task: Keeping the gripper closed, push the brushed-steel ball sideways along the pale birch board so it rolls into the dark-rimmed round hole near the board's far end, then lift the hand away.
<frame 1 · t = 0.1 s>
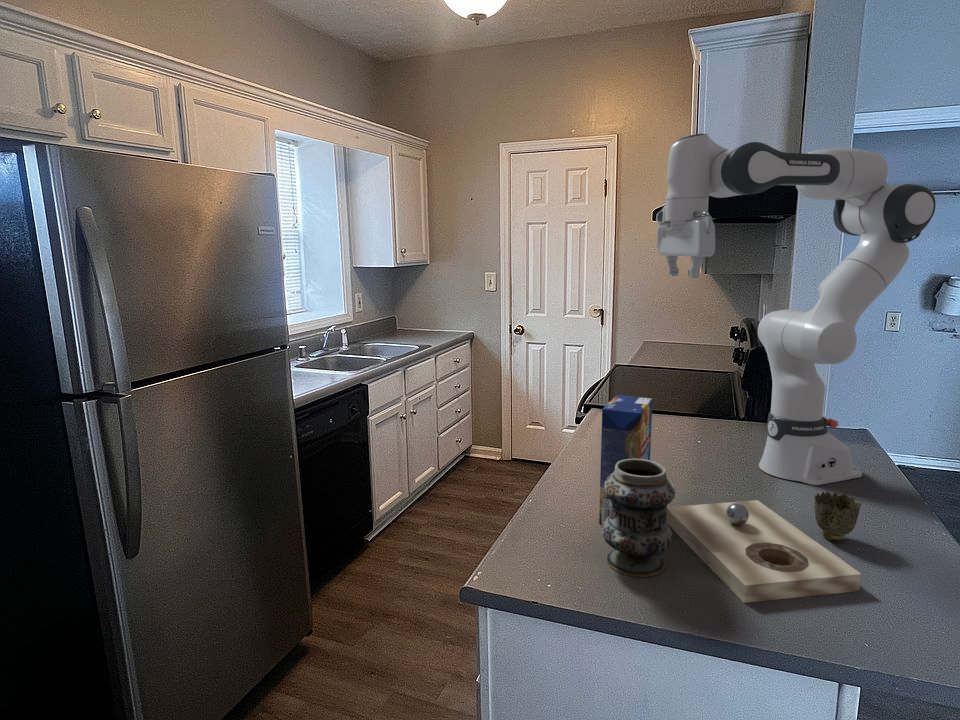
hand: (682, 277, 130), 48 cm above the counter, tool pointing down, fingers open, 8 cm apart
cup: (832, 539, 111), on the counter
steel ball: (737, 514, 110), point 5 cm above the counter, touching hole board
apothecary jar: (635, 563, 104), on the counter
hole board: (750, 551, 107), on the counter
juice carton: (624, 515, 122), on the counter
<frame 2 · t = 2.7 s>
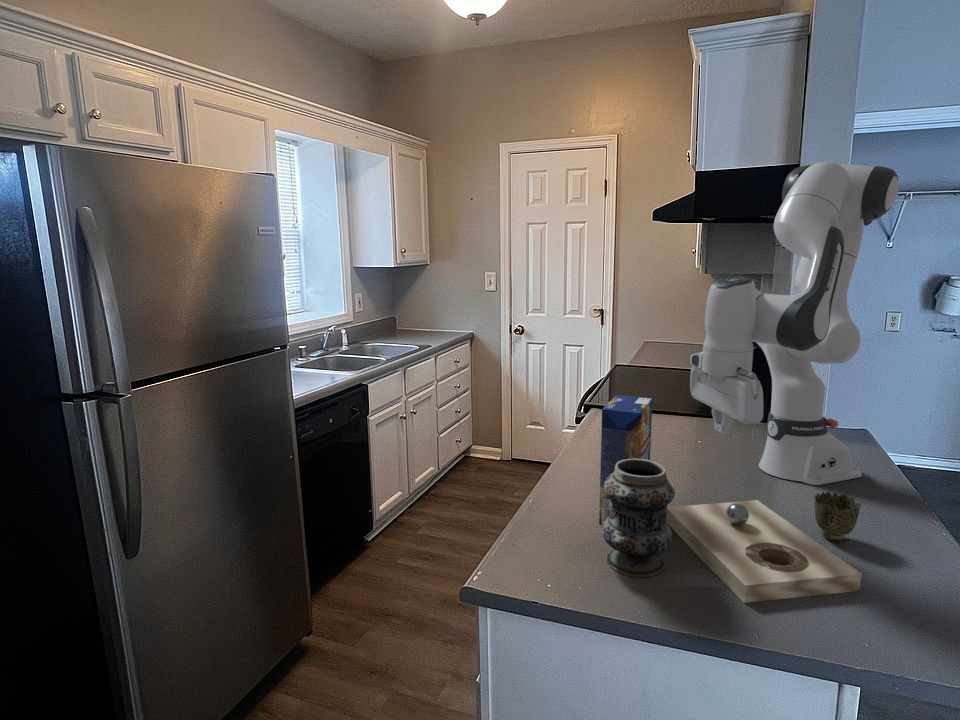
hand: (722, 432, 115), 19 cm above the counter, tool pointing down, fingers closed
nothing on the counter moved.
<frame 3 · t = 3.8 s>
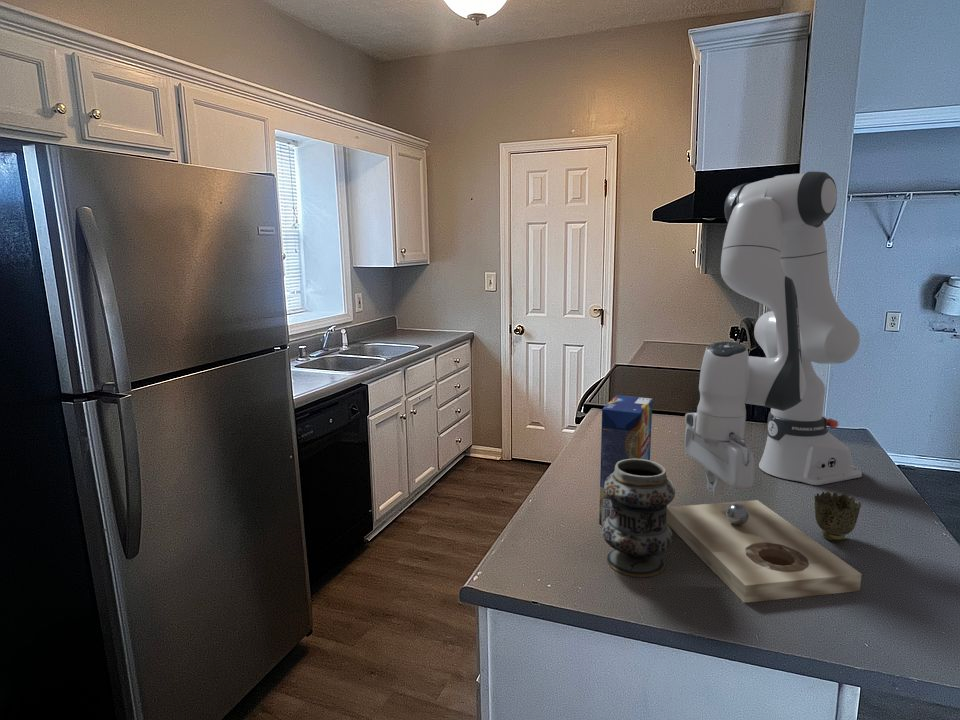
hand: (714, 492, 117), 6 cm above the counter, tool pointing down, fingers closed
nothing on the counter moved.
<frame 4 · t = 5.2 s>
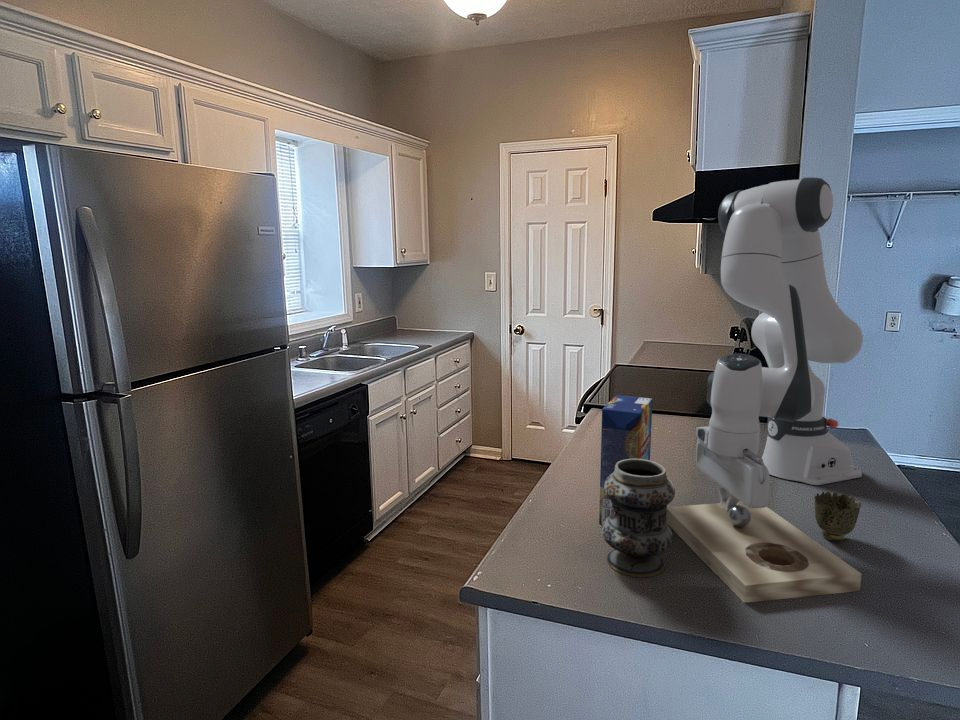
hand: (728, 509, 113), 5 cm above the counter, tool pointing down, fingers closed
steel ball: (739, 515, 110), point 5 cm above the counter, tilted 21°, touching gripper, hole board
everything else where it was.
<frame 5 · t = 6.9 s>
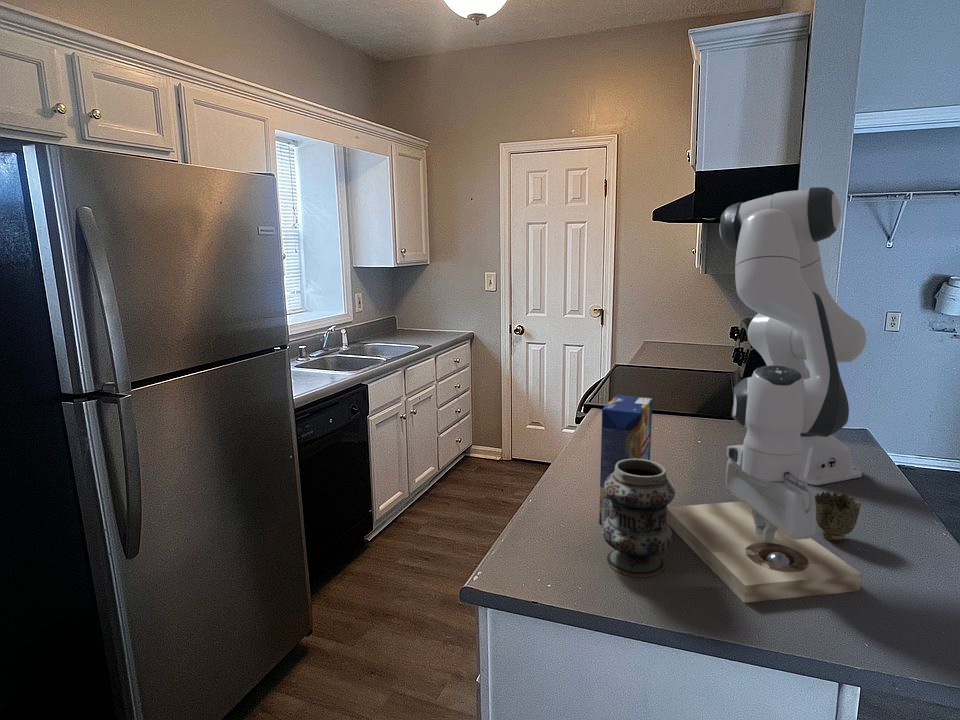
hand: (764, 537, 102), 5 cm above the counter, tool pointing down, fingers closed
steel ball: (777, 564, 99), point 2 cm above the counter, tilted 48°
everything else where it was.
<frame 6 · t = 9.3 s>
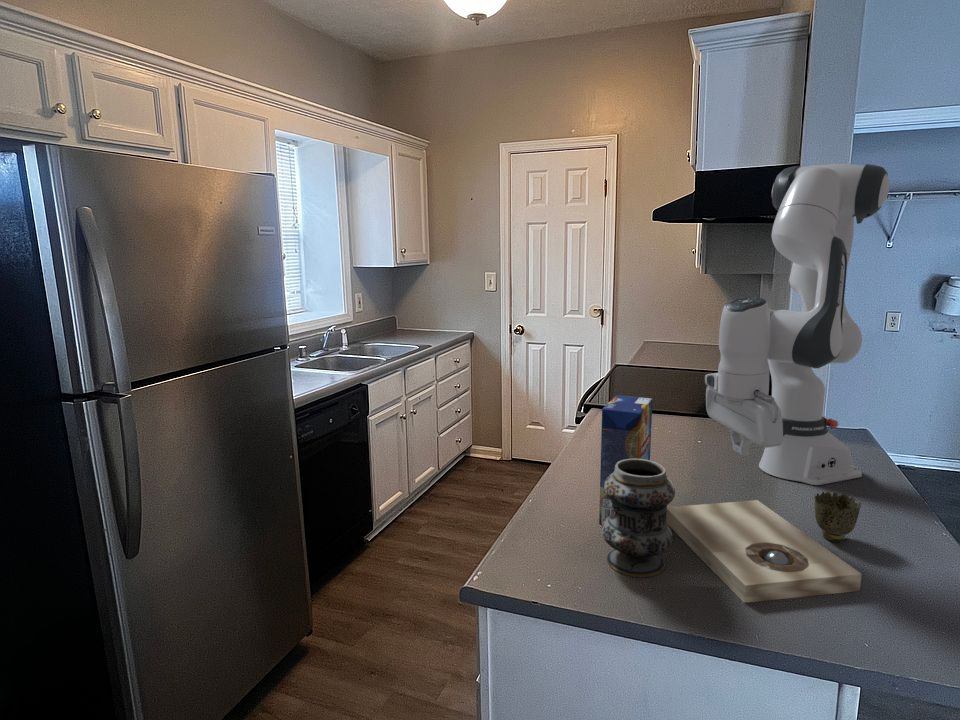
hand: (740, 453, 114), 15 cm above the counter, tool pointing down, fingers closed
steel ball: (776, 563, 99), point 2 cm above the counter, tilted 38°
everything else where it was.
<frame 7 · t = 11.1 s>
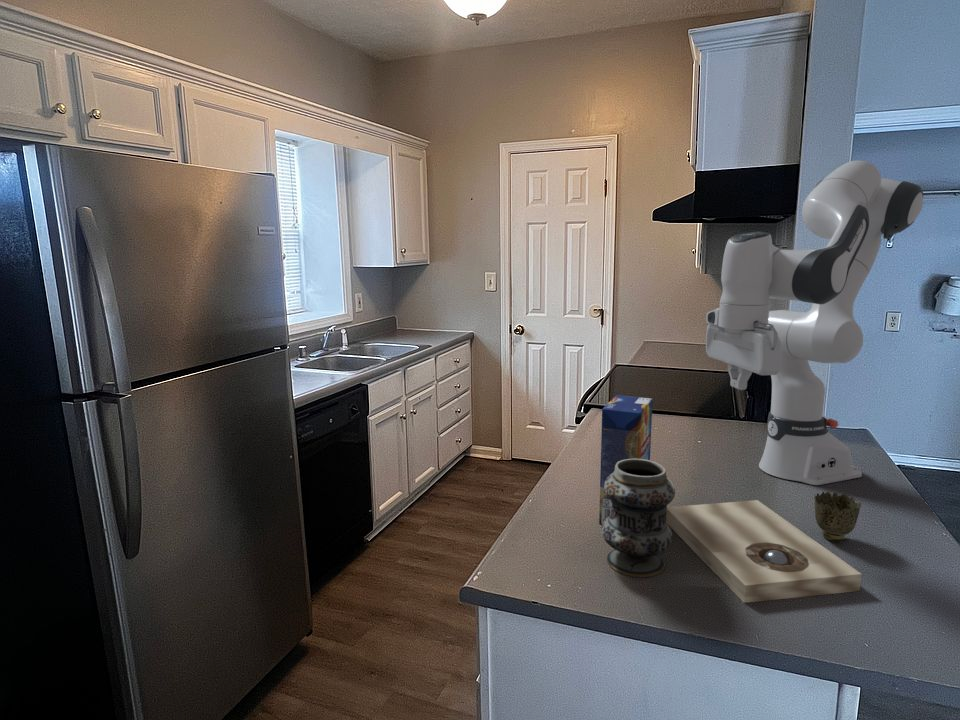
hand: (738, 388, 115), 27 cm above the counter, tool pointing down, fingers closed
steel ball: (775, 562, 99), point 2 cm above the counter, tilted 30°
everything else where it was.
at the end: steel ball 0.1 cm from the target spot on the hole board, point 2.0 cm above the hole board's base; steel ball touching counter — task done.
